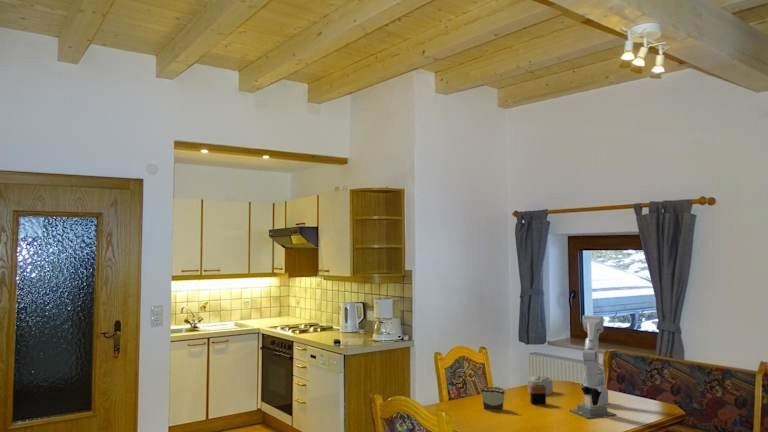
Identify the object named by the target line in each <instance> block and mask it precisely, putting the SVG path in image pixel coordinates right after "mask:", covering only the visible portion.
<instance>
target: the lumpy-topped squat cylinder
mask: <svg viewBox="0 0 768 432" xmlns="http://www.w3.org/2000/svg"><path fill="white" fill-rule="evenodd" d="M526 380H527V393H529V394H530V385H533V384H536V385H539V383H542V384H543V385H544V386H545V387H546V395H547V396H548V395H551V394H553V390H554V389H553V379H552V378H550V377H548V376H547V375H541V376H540V375H538V374H536V375H534V376H530V377H528V378H527V379H526Z"/></svg>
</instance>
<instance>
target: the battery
mask: <svg viewBox="0 0 768 432" xmlns="http://www.w3.org/2000/svg"><path fill="white" fill-rule="evenodd" d="M529 394H530V403H531V405H533V406H538V405H540V406H541V405H542V406H543V405H547V398H546V397H547V396H546V387H545V386H544V385H543V384H542V383H539V385H536V384H533V385H530V393H529Z"/></svg>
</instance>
